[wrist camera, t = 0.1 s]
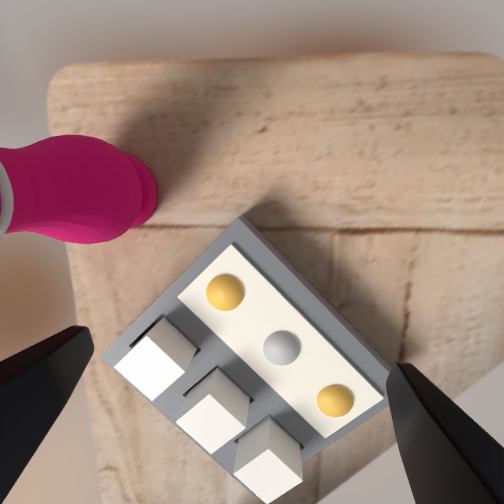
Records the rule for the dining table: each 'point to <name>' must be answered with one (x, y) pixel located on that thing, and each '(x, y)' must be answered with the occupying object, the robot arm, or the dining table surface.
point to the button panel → (264, 344)
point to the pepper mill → (74, 190)
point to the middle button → (214, 411)
